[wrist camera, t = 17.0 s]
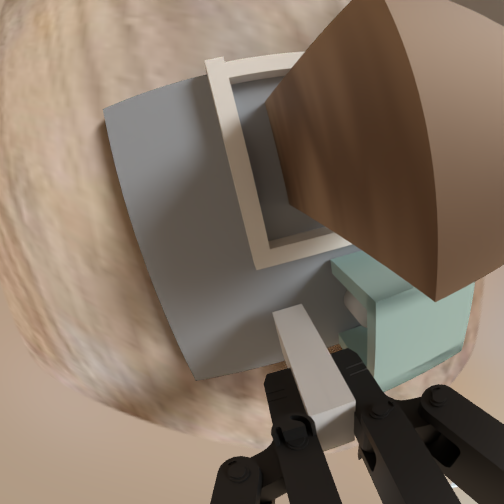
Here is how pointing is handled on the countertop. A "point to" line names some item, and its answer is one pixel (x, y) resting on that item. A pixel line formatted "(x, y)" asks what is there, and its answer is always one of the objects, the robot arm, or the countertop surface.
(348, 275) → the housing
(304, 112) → the block
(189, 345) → the jig board
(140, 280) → the countertop surface
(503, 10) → the beverage can
